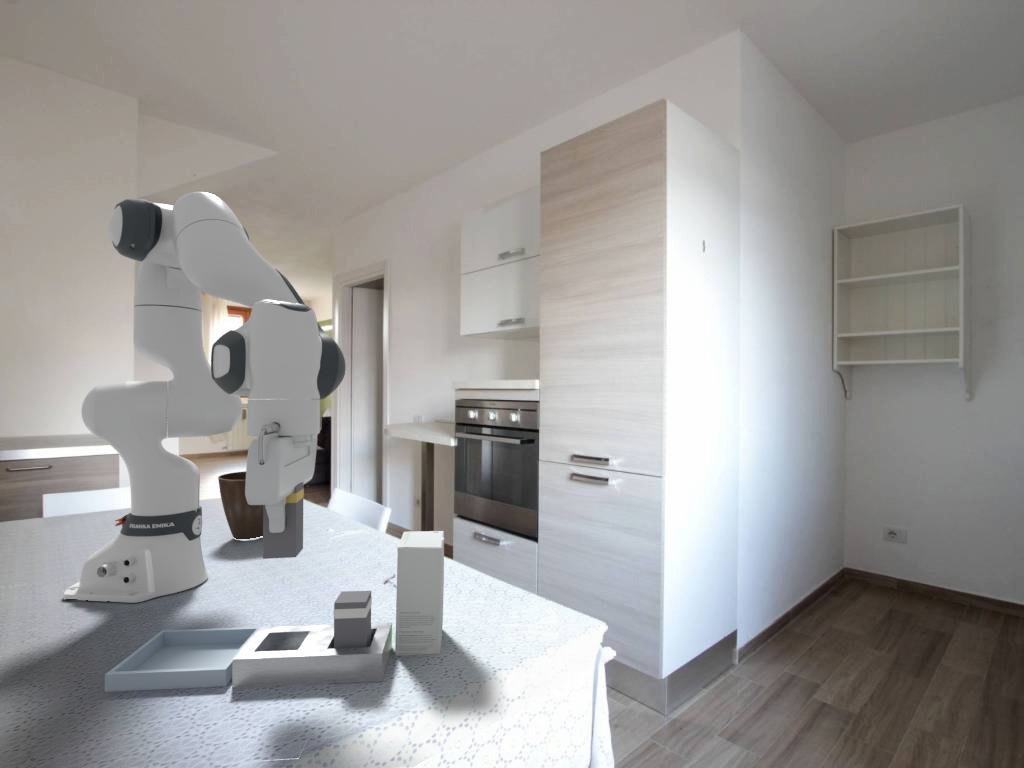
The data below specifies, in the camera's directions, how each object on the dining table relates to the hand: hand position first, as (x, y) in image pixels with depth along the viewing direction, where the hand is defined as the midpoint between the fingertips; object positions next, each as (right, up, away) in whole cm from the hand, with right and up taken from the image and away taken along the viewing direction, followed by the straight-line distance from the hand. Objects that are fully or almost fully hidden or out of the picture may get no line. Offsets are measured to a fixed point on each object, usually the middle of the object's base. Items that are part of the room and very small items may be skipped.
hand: (283, 526), depth 70 cm
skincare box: (+17, -20, +7) cm, 27 cm away
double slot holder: (+4, -19, 0) cm, 20 cm away
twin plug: (+9, -19, +1) cm, 21 cm away
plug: (0, -4, 0) cm, 4 cm away
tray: (-13, -19, +1) cm, 23 cm away
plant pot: (-36, -21, +65) cm, 77 cm away
